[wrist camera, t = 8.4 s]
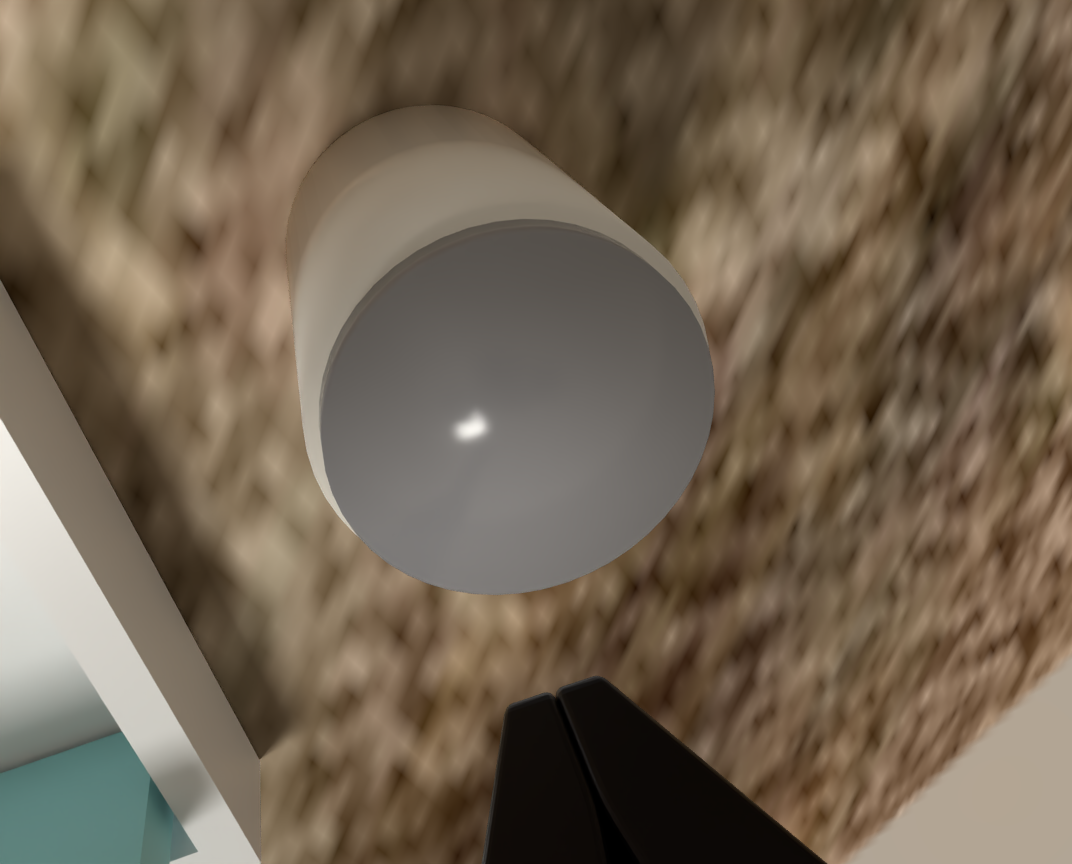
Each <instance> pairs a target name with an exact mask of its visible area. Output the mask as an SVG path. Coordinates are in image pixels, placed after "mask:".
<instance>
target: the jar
mask: <svg viewBox="0 0 1072 864" xmlns="http://www.w3.org/2000/svg"><path fill="white" fill-rule="evenodd" d="M286 267H287V276H288V286H289V296H290V306H291V316H292V325H293V335H294V345H295V355H296V365H297V374H298V384H299V394H300V404H301V414H302V423H303V431H304V437H305V444H306V450H307V454H308V457H309V460H310V463H311V467H312V470H313V473H314V476H315V478H316V480H317V482H318V484H319V486H320V488H321V490H322V492H323V494H324V496H325V498H326V499H327V501H328V502H329V503H330V505H331V506H332V508H333V509H334V511H335V512H336V513H337V515H338V516H339V517H340V518H341V520H342V521H343V522H344V523H345V524H346V525H347V526H348V527H349V528H350V529H351V530H352V531H353V532H354V533H355V534H356V535H357V536H358V537H359V538H360V539H361V540H362V541H363V542H364V543H365V544H366V545H367V546H368V547H369V548H370V549H371V550H372V551H373V552H375V553H376V554H377V555H378V556H380V557H381V558H382V559H383V560H385V561H386V562H387V563H388V564H390V565H392V566H393V567H395V568H397V569H398V570H400V571H402V572H404V573H405V574H407V575H409V576H411V577H413V578H416V579H418V580H421V581H423V582H425V583H428V584H430V585H434V586H438V587H441V588H445V589H448V590H452V591H459V592H465V593H471V594H489V595H502V594H516V593H525V592H530V591H536V590H541V589H546V588H549V587H553V586H556V585H559V584H563V583H566V582H569V581H571V580H574V579H576V578H579V577H581V576H584V575H586V574H589V573H591V572H593V571H594V570H596V569H598V568H600V567H602V566H604V565H606V564H608V563H610V562H611V561H613V560H614V559H616V558H617V557H619V556H620V555H622V554H623V553H625V552H626V551H628V550H629V549H630V548H632V547H633V546H634V545H635V544H636V543H638V542H639V541H640V540H641V539H643V538H644V537H645V536H646V535H647V534H648V533H649V532H650V531H651V530H652V529H653V528H654V527H655V526H656V525H657V524H658V523H659V522H660V521H661V520H662V519H663V518H664V517H665V516H666V515H667V513H668V512H669V511H670V510H671V508H672V507H673V506H674V505H675V503H676V502H677V501H678V499H679V498H680V496H681V495H682V493H683V492H684V490H685V488H686V487H687V485H688V484H689V482H690V480H691V479H692V477H693V475H694V473H695V470H696V468H697V466H698V464H699V462H700V460H701V458H702V455H703V452H704V449H705V446H706V443H707V440H708V437H709V432H710V427H711V422H712V417H713V409H714V395H715V389H714V374H713V366H712V362H711V357H710V352H709V346H708V341H707V336H706V332H705V327H704V323H703V320H702V318H701V315H700V312H699V310H698V307H697V304H696V302H695V300H694V298H693V296H692V294H691V293H690V291H689V289H688V287H687V285H686V284H685V282H684V280H683V279H682V278H681V276H680V275H679V274H678V273H677V271H676V270H675V269H674V267H673V266H672V265H671V263H670V262H669V261H668V260H667V259H666V258H665V257H664V256H663V255H662V254H661V253H660V252H659V251H658V250H656V249H655V248H654V247H653V246H652V245H651V244H650V243H649V242H648V241H646V240H645V239H644V238H643V237H642V236H640V235H639V234H638V233H637V232H636V231H634V230H633V229H632V228H631V227H630V226H628V225H627V224H626V223H625V222H624V221H622V220H621V219H620V218H619V217H618V216H616V215H615V214H614V213H613V212H612V211H610V210H609V209H608V208H607V207H606V206H604V205H603V204H602V203H601V202H599V201H598V200H597V199H596V198H595V197H593V196H592V195H591V194H590V193H589V192H587V191H586V190H585V189H584V188H583V187H581V186H580V185H579V184H578V183H577V182H575V181H574V180H573V179H572V178H571V177H569V176H568V175H567V174H566V173H565V172H563V171H562V170H561V169H560V168H559V167H557V166H556V165H555V164H554V163H553V162H551V161H550V160H549V159H548V158H546V157H545V156H544V155H543V154H542V153H540V152H539V151H538V150H537V149H536V148H534V147H533V146H532V145H531V144H530V143H528V142H527V141H526V140H525V139H524V138H522V137H521V136H520V135H518V134H517V133H516V132H514V131H513V130H511V129H510V128H509V127H507V126H506V125H504V124H502V123H500V122H498V121H496V120H494V119H492V118H490V117H488V116H486V115H483V114H480V113H477V112H474V111H471V110H467V109H463V108H458V107H453V106H442V105H422V106H410V107H405V108H401V109H396V110H391V111H389V112H386V113H383V114H380V115H378V116H375V117H372V118H370V119H368V120H366V121H364V122H363V123H361V124H359V125H357V126H355V127H353V128H352V129H351V130H349V131H348V132H346V133H345V134H344V135H342V136H341V137H339V138H338V139H337V140H336V141H335V142H334V143H333V144H332V145H331V146H330V147H328V148H327V149H326V150H325V151H324V152H323V153H322V155H321V156H320V157H319V158H318V160H317V161H316V162H315V163H314V165H313V166H312V167H311V168H310V170H309V172H308V173H307V175H306V177H305V178H304V180H303V182H302V183H301V185H300V188H299V190H298V192H297V195H296V197H295V199H294V202H293V205H292V208H291V212H290V216H289V220H288V225H287V233H286Z"/></svg>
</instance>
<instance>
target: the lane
mask: <svg viewBox="0 0 1072 864" xmlns="http://www.w3.org/2000/svg"><path fill="white" fill-rule="evenodd" d="M121 731H122V732H123V734H124V735H125V737H126V738H127V740H128V742H129V743H130V745H131V746H132V748H133V749H134V751H135V753H136V754H137V756H138V757H139V759H140V761H141V762H142V764H143V765H144V767H145V768H146V770H147V772H148V773H149V775H150V776H151V778H152V779H153V781H154V783H155V784H156V786H157V787H158V789H159V790H160V792H161V794H162V795H163V797H164V798H165V800H166V802H167V803H168V805H169V806H170V808H171V809H172V811H173V813H174V815H173V827H172V838H171V850H170V862H169V864H261V797H260V760H259V758H258V756H257V754H256V753H255V751H254V749H253V747H252V745H251V743H250V741H249V740H248V738H247V736H246V734H245V732H244V730H243V728H242V727H241V725H240V723H239V721H238V719H237V717H236V715H235V714H234V712H233V710H232V708H231V706H230V704H229V702H228V701H227V699H226V697H225V695H224V693H223V691H222V690H221V688H220V686H219V684H218V682H217V680H216V678H215V677H214V675H213V673H212V671H211V669H210V667H209V665H208V664H207V662H206V660H205V658H204V656H203V654H202V652H201V651H200V649H199V647H198V645H197V643H196V641H195V639H194V638H193V636H192V634H191V632H190V630H189V628H188V627H187V625H186V623H185V621H184V619H183V617H182V615H181V614H180V612H179V610H178V608H177V606H176V604H175V602H174V601H173V599H172V597H171V595H170V593H169V591H168V589H167V588H166V586H165V584H164V582H163V580H162V578H161V577H160V575H159V573H158V571H157V569H156V567H155V565H154V564H153V562H152V560H151V558H150V556H149V554H148V552H147V551H146V549H145V547H144V545H143V543H142V541H141V539H140V538H139V536H138V534H137V532H136V530H135V528H134V526H133V525H132V523H131V521H130V519H129V517H128V515H127V514H126V512H125V510H124V508H123V506H122V504H121V502H120V501H119V499H118V497H117V495H116V493H115V491H114V489H113V488H112V486H111V484H110V482H109V480H108V478H107V476H106V475H105V473H104V471H103V469H102V467H101V465H100V463H99V462H98V460H97V458H96V456H95V454H94V452H93V451H92V449H91V447H90V445H89V443H88V441H87V439H86V438H85V436H84V434H83V432H82V430H81V428H80V426H79V425H78V423H77V421H76V419H75V417H74V415H73V413H72V412H71V410H70V408H69V406H68V404H67V402H66V401H65V399H64V397H63V395H62V393H61V391H60V389H59V388H58V386H57V384H56V382H55V380H54V378H53V376H52V375H51V373H50V371H49V369H48V367H47V365H46V363H45V362H44V360H43V358H42V356H41V354H40V352H39V350H38V349H37V347H36V345H35V343H34V341H33V339H32V338H31V336H30V334H29V332H28V330H27V328H26V326H25V325H24V323H23V321H22V319H21V317H20V315H19V313H18V312H17V310H16V308H15V306H14V304H13V302H12V300H11V299H10V297H9V295H8V293H7V291H6V289H5V287H4V286H3V284H2V282H1V280H0V773H3V772H6V771H9V770H12V769H15V768H18V767H21V766H23V765H26V764H29V763H32V762H35V761H38V760H41V759H44V758H47V757H49V756H52V755H55V754H58V753H61V752H64V751H67V750H70V749H72V748H75V747H78V746H81V745H84V744H87V743H90V742H93V741H96V740H98V739H101V738H104V737H107V736H110V735H113V734H116V733H119V732H121Z"/></svg>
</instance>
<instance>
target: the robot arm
mask: <svg viewBox="0 0 1072 864" xmlns="http://www.w3.org/2000/svg"><path fill="white" fill-rule="evenodd" d="M482 864H827V863H826V862H825V861H823V860H822V859H821V858H820V857H819V856H817V855H816V854H815V853H814V852H813V851H811V850H810V849H809V848H808V847H807V846H805V845H804V844H803V843H802V842H801V841H800V840H798V839H797V838H796V837H795V836H794V835H792V834H791V833H790V832H789V831H788V830H786V829H785V828H784V827H783V826H782V825H780V824H779V823H778V822H777V821H776V820H774V819H773V818H772V817H771V816H770V815H768V814H767V813H766V812H765V811H764V810H762V809H761V808H760V807H759V806H758V805H756V804H755V803H754V802H753V801H752V800H750V799H749V798H748V797H747V796H746V795H744V794H743V793H742V792H741V791H740V790H738V789H737V788H736V787H735V786H734V785H732V784H731V783H730V782H729V781H728V780H726V779H725V778H724V777H723V776H722V775H720V774H719V773H718V772H717V771H716V770H714V769H713V768H712V767H711V766H710V765H708V764H707V763H706V762H705V761H704V760H702V759H701V758H700V757H699V756H698V755H696V754H695V753H694V752H693V751H692V750H690V749H689V748H688V747H687V746H686V745H684V744H683V743H682V742H681V741H680V740H679V739H677V738H676V737H675V736H674V735H673V734H671V733H670V732H669V731H668V730H667V729H665V728H664V727H663V726H662V725H661V724H659V723H658V722H657V721H656V720H655V719H653V718H652V717H651V716H650V715H649V714H647V713H646V712H645V711H644V710H643V709H641V708H640V707H639V706H638V705H637V704H635V703H634V702H633V701H632V700H631V699H629V698H628V697H627V696H626V695H625V694H623V693H622V692H621V691H620V690H619V689H617V688H616V687H615V686H614V685H613V684H611V683H610V682H609V681H608V680H606V679H605V678H603V677H600V676H593V677H590V678H587V679H584V680H581V681H578V682H575V683H572V684H569V685H566V686H563V687H561V688H559V690H558V691H557V693H556V698H555V697H554V696H553V695H552V694H551V693H542V694H539V695H536V696H533V697H530V698H527V699H524V700H521V701H518V702H515V703H513V704H511V705H509V706H508V707H507V709H506V711H505V714H504V719H503V726H502V733H501V739H500V746H499V753H498V759H497V766H496V772H495V779H494V786H493V792H492V799H491V806H490V812H489V819H488V825H487V832H486V839H485V845H484V852H483V859H482Z"/></svg>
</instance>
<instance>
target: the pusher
mask: <svg viewBox="0 0 1072 864" xmlns="http://www.w3.org/2000/svg"><path fill="white" fill-rule="evenodd" d="M173 815H174V813H173V811H172V809H171V808H170V806H169V805H168V803H167V802H166V800H165V798H164V797H163V795H162V794H161V792H160V790H159V789H158V787H157V786H156V784H155V783H154V781H153V779H152V778H151V776H150V775H149V773H148V772H147V770H146V768H145V767H144V765H143V764H142V762H141V761H140V759H139V757H138V756H137V754H136V753H135V751H134V749H133V748H132V746H131V745H130V743H129V742H128V740H127V738H126V737H125V735H124V734H123V732H122V731H121V732H119V733H116V734H113V735H110V736H107V737H104V738H101V739H98V740H96V741H93V742H90V743H87V744H84V745H81V746H78V747H75V748H72V749H70V750H67V751H64V752H61V753H58V754H55V755H52V756H49V757H47V758H44V759H41V760H38V761H35V762H32V763H29V764H26V765H23V766H21V767H18V768H15V769H12V770H9V771H6V772H3V773H0V864H169V862H170V850H171V838H172V827H173Z"/></svg>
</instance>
